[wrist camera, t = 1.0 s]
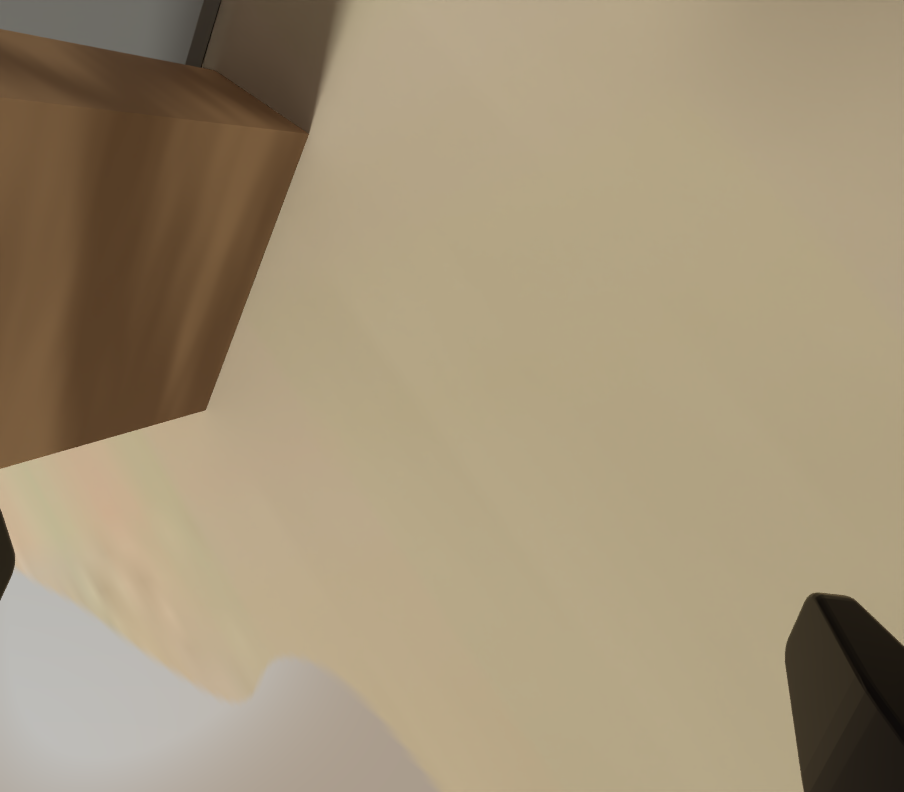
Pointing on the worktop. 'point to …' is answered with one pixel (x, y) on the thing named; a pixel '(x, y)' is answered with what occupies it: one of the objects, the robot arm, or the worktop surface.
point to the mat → (119, 25)
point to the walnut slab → (124, 236)
